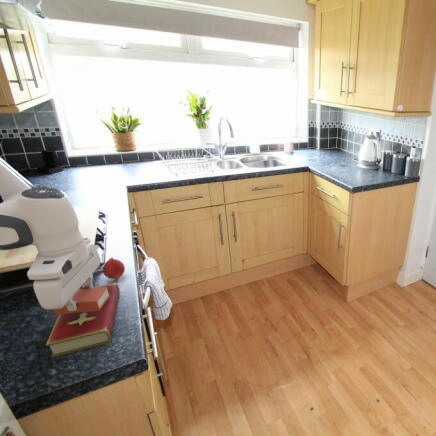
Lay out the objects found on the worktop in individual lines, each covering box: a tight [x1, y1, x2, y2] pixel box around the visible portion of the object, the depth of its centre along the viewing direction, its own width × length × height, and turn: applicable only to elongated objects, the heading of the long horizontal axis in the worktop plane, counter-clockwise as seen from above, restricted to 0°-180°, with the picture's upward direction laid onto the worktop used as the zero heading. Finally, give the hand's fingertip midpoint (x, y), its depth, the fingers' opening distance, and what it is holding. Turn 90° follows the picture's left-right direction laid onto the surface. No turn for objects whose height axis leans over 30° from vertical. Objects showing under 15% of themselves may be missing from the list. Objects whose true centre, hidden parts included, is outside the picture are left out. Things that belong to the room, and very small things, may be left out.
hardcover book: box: [45, 282, 121, 358], centre depth 85 cm, size 12×21×4 cm, turn 25°
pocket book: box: [52, 287, 110, 315], centre depth 82 cm, size 10×6×3 cm, turn 100°
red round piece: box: [102, 256, 126, 280], centre depth 101 cm, size 6×6×8 cm
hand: (81, 299), depth 82 cm, fingers closed on pocket book, 6 cm apart
